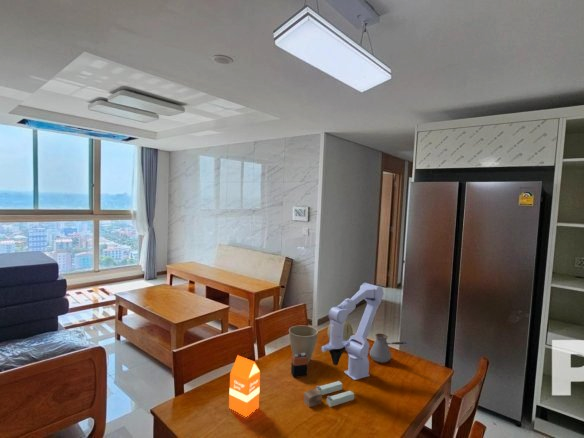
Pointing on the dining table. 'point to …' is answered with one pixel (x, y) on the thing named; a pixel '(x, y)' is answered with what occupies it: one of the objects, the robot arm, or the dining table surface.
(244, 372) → the orange juice
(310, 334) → the plant pot
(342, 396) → the rails
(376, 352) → the coffee pot
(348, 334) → the cantaloupe
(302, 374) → the battery
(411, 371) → the dining table surface
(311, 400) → the block
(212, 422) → the dining table surface
